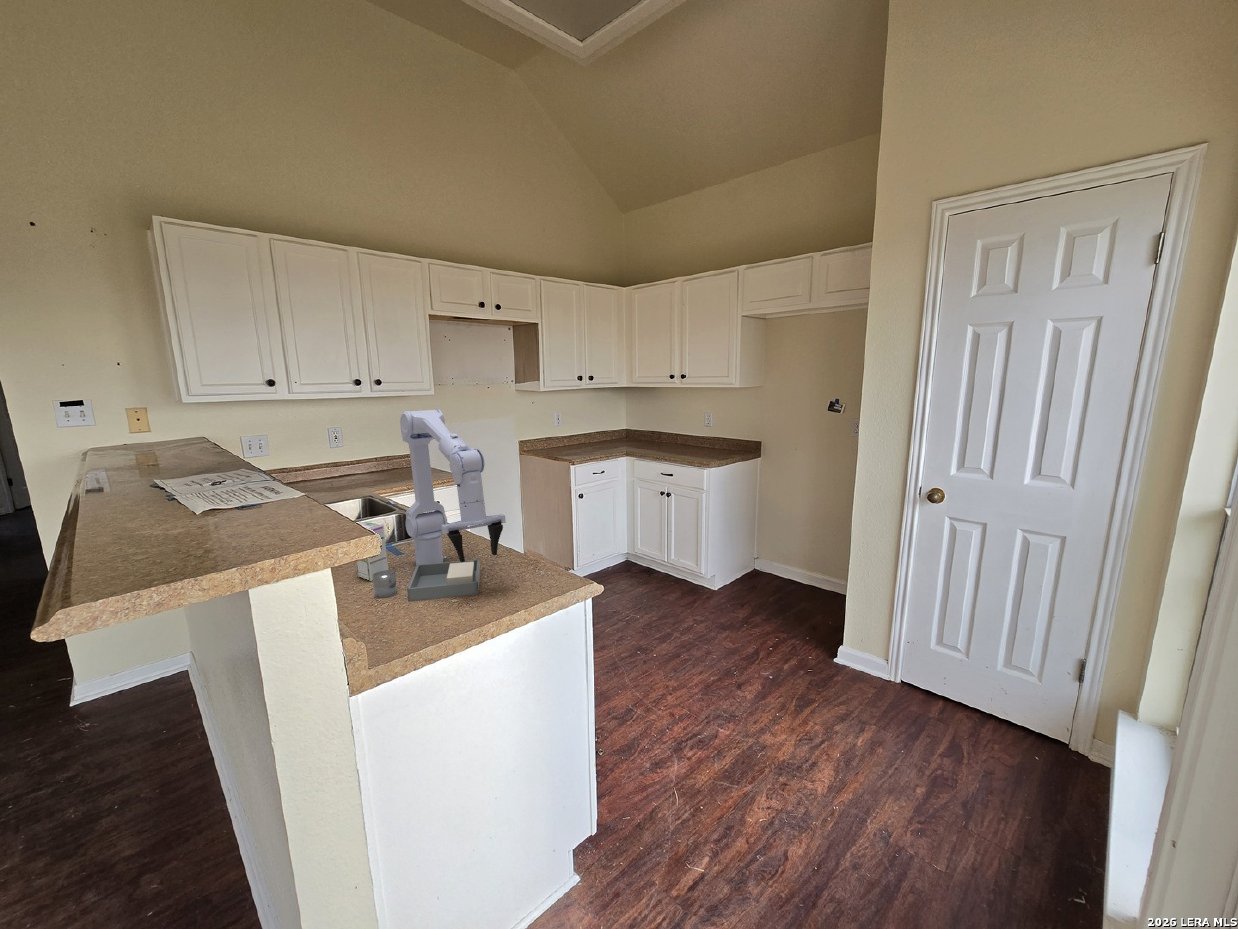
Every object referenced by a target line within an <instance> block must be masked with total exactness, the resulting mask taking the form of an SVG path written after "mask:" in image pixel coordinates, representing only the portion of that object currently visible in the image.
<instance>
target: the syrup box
mask: <svg viewBox="0 0 1238 929" xmlns="http://www.w3.org/2000/svg"><path fill="white" fill-rule="evenodd" d="M360 524H361V525H362V526H364V527H366V528H369V529H371V530H373V531H374V532H375V533H377V534H379V535H380V537H381V539H382V550H381V552H380V554H379V555H378V556H376V557H373V558H367V559H365V560H362V561H358V562H356V561H355V564H356V571H357V572H356V574H357V577H358V576H360V577H364V578H365V579H367V580H366V581H368V580H369V582H373V581H372V580H373V574H375V573H377V572H380V571H385V570H389V564H388V554H387V547H386V546H387V545H386V537H385V536H386V535H385V528H384V527H385V526H384V524H383V523H379V522H376V521H371V520H369V521H364V522H361V523H360ZM365 579H364V580H365Z"/></svg>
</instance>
